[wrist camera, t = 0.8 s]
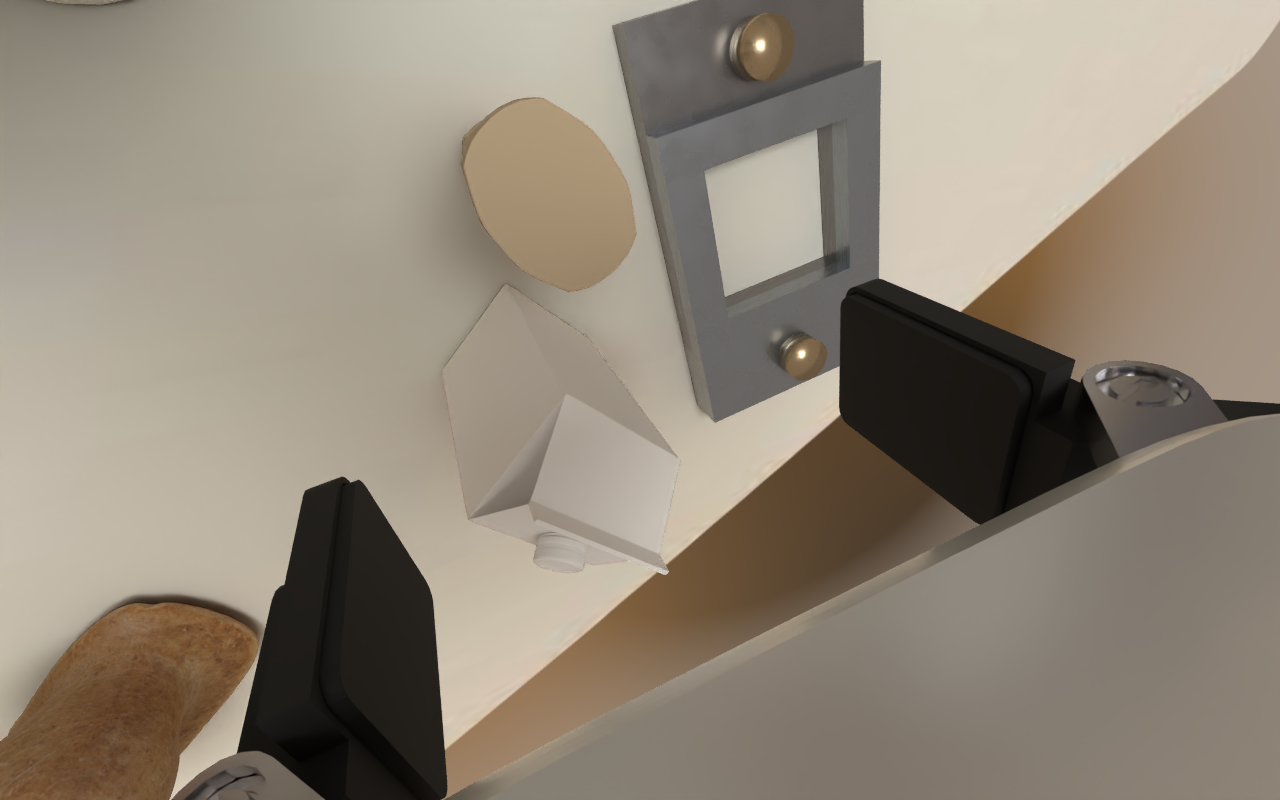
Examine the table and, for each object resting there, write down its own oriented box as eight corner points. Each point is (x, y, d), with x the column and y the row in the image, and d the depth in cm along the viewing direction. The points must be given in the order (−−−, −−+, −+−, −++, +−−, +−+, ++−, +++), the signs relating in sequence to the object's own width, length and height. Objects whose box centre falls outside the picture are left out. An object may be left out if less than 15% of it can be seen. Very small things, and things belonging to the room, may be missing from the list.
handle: (484, 68, 29) (551, 64, 17) (560, 173, 33) (660, 231, 21) (414, 129, 29) (431, 169, 17) (498, 226, 33) (561, 315, 21)
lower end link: (612, 25, 30) (632, 21, 28) (845, -46, 33) (883, -55, 30) (684, 346, 42) (703, 363, 39) (851, 275, 44) (879, 287, 42)
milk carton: (504, 281, 35) (596, 446, 19) (590, 339, 39) (721, 513, 23) (440, 370, 36) (477, 591, 20) (529, 417, 40) (617, 631, 25)
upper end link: (636, 133, 33) (667, 141, 30) (847, 61, 36) (900, 59, 32) (697, 403, 45) (724, 433, 41) (853, 334, 47) (892, 356, 44)
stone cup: (88, 561, 34) (-81, 836, 21) (288, 616, 40) (245, 847, 28) (-46, 726, 35) (-272, 1065, 23) (166, 752, 42) (78, 1023, 30)
